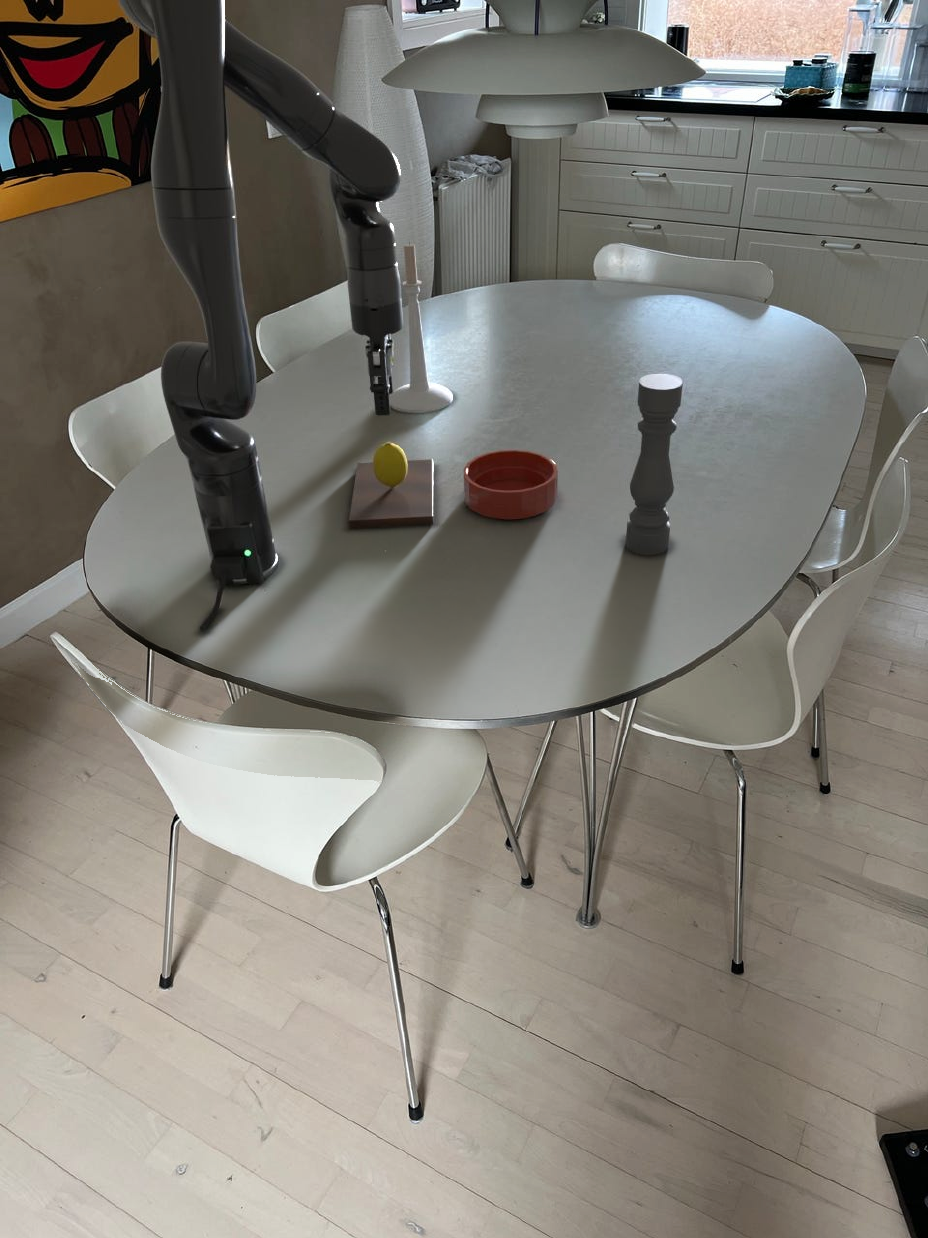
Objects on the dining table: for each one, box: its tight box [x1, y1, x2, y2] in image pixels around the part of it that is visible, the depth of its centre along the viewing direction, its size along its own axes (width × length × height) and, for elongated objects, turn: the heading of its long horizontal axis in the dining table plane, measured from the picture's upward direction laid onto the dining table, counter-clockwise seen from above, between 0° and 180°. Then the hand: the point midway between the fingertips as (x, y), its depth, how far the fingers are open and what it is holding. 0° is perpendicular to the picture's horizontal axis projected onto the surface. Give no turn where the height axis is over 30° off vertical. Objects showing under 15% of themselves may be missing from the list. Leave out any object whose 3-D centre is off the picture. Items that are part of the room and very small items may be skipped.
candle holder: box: [625, 373, 684, 556], centre depth 129 cm, size 6×6×25 cm
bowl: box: [462, 449, 559, 520], centre depth 148 cm, size 15×15×5 cm
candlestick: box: [389, 242, 454, 414], centre depth 176 cm, size 13×13×30 cm
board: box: [348, 458, 434, 530], centre depth 152 cm, size 20×13×2 cm, turn 2°
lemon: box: [372, 441, 408, 488], centre depth 149 cm, size 6×6×8 cm
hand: (384, 403), depth 143 cm, fingers open, 8 cm apart
